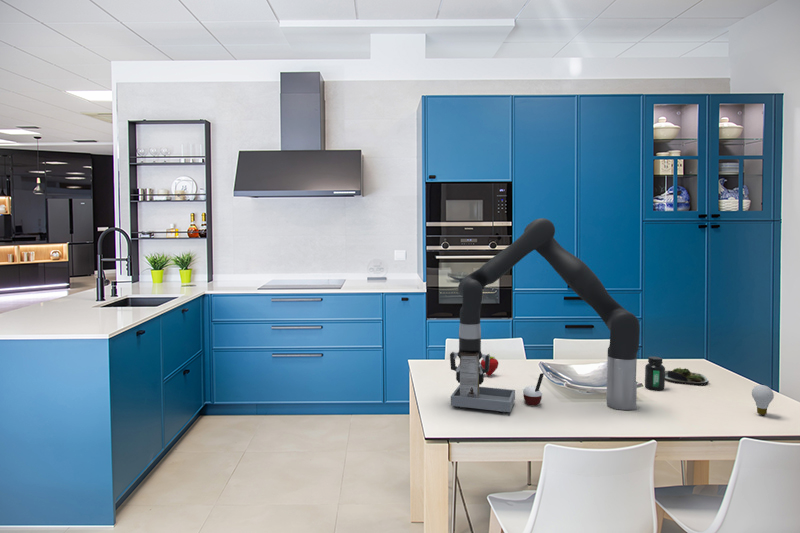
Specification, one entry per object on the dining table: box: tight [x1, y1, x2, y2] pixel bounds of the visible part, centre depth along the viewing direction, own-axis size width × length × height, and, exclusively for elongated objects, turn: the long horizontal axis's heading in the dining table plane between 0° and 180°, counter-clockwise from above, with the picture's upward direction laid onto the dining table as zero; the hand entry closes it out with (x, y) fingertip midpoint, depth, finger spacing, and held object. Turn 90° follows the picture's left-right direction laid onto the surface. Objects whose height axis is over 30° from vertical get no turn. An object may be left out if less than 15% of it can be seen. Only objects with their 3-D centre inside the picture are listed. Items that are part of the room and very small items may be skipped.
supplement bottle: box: [644, 356, 666, 392], centre depth 196 cm, size 7×7×12 cm
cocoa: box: [522, 372, 545, 407], centre depth 178 cm, size 10×6×12 cm, turn 3°
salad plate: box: [665, 367, 709, 387], centre depth 211 cm, size 19×18×5 cm
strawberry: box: [480, 355, 499, 377], centre depth 214 cm, size 6×8×10 cm
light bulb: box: [751, 384, 775, 416], centre depth 167 cm, size 6×6×10 cm
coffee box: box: [459, 352, 480, 398], centre depth 178 cm, size 9×6×16 cm
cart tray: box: [450, 384, 516, 414], centre depth 177 cm, size 20×14×4 cm
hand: (469, 382), depth 178 cm, fingers closed on coffee box, 6 cm apart
